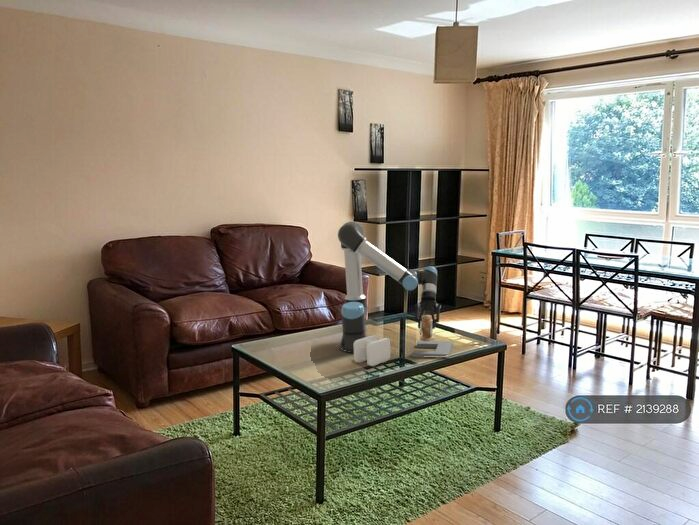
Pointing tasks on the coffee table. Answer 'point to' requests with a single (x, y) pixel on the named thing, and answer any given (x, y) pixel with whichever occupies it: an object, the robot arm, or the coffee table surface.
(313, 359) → the coffee table surface
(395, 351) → the coffee table surface
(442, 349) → the notched board
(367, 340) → the cable organizer
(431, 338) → the bobbin
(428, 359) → the coffee table surface
